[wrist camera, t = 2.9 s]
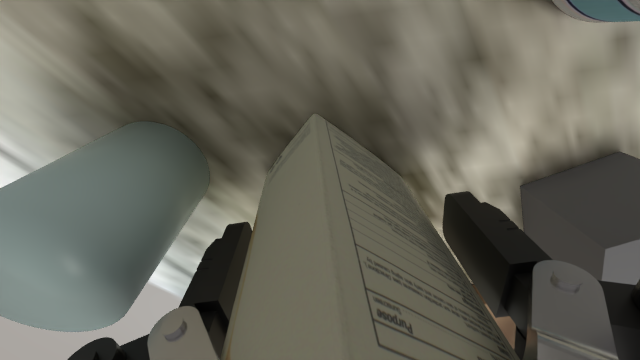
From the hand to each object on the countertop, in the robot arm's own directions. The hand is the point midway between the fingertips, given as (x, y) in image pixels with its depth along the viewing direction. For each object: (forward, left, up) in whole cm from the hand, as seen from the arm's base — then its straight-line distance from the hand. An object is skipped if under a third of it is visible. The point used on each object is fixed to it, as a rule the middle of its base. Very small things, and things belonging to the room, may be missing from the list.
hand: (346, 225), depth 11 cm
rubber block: (-13, +4, -4) cm, 14 cm away
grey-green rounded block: (+9, -2, -4) cm, 10 cm away
